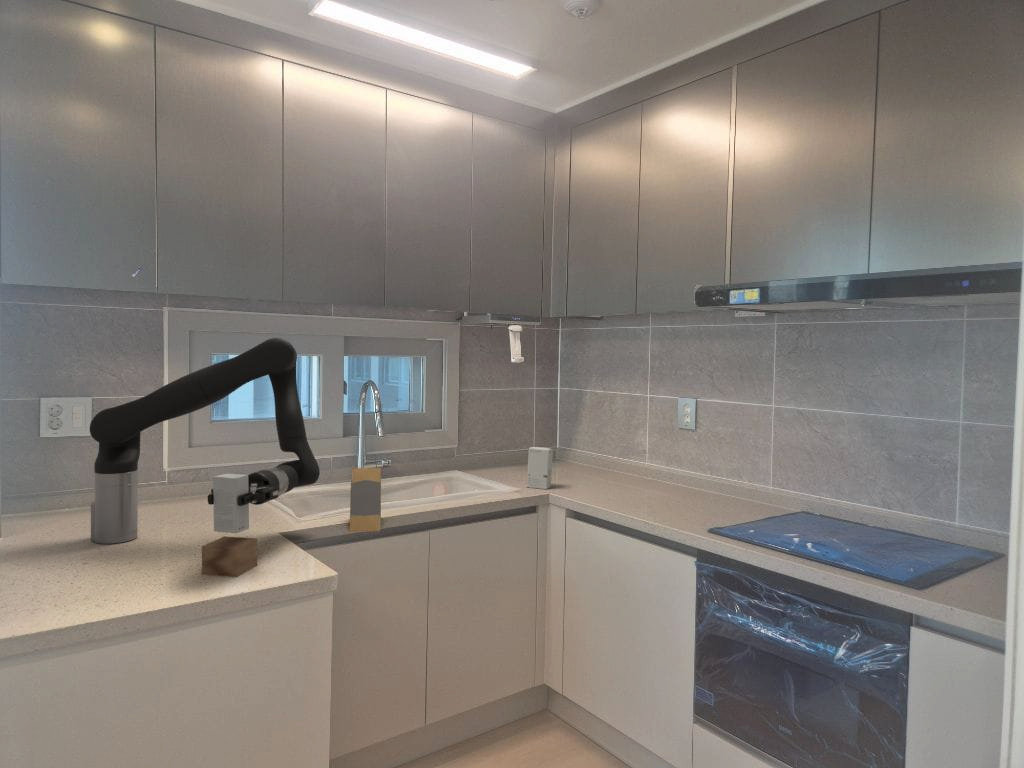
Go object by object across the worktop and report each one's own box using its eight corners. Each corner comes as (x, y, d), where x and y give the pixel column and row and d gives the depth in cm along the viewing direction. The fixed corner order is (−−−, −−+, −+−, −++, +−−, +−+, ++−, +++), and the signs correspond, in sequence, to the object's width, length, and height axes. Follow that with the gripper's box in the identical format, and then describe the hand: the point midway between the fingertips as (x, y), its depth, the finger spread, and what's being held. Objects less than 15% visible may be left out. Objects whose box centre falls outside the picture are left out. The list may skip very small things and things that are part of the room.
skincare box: (249, 528, 140) (249, 474, 140) (236, 534, 136) (236, 478, 136) (226, 526, 142) (225, 473, 141) (212, 531, 138) (212, 476, 137)
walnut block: (201, 574, 136) (201, 546, 135) (224, 562, 144) (224, 536, 143) (236, 576, 134) (236, 548, 134) (257, 565, 142) (257, 538, 142)
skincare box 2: (526, 487, 238) (526, 448, 238) (531, 485, 244) (532, 446, 243) (547, 489, 235) (548, 449, 235) (552, 486, 241) (553, 447, 241)
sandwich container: (348, 532, 171) (348, 477, 171) (350, 519, 186) (351, 468, 186) (380, 531, 173) (381, 476, 173) (380, 518, 188) (381, 467, 188)
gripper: (237, 468, 154) (193, 481, 137) (294, 470, 152) (255, 484, 135) (238, 499, 154) (193, 516, 137) (294, 502, 152) (256, 519, 135)
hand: (224, 500), depth 136 cm, fingers closed on skincare box, 6 cm apart
